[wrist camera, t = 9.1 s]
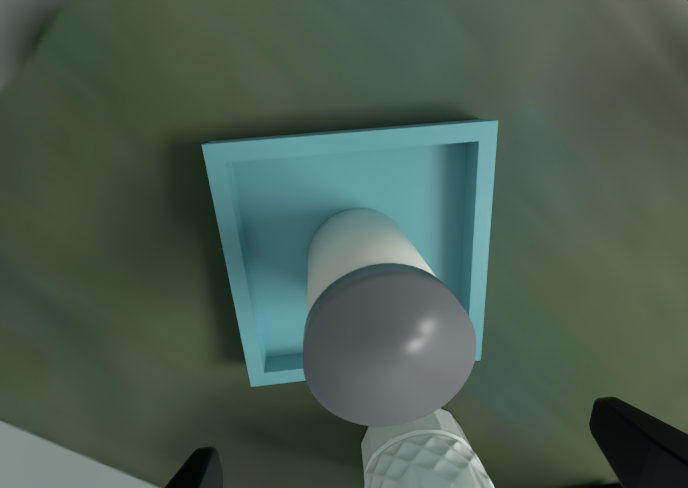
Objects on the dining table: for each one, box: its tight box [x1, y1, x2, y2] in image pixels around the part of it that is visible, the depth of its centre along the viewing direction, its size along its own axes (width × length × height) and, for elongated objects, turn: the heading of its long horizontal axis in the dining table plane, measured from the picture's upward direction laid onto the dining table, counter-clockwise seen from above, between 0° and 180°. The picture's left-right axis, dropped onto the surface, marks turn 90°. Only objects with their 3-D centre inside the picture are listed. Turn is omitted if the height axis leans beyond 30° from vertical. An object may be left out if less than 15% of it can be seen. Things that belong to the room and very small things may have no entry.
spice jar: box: [303, 208, 477, 427], centre depth 15 cm, size 5×5×8 cm
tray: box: [202, 119, 498, 387], centre depth 19 cm, size 13×13×2 cm
